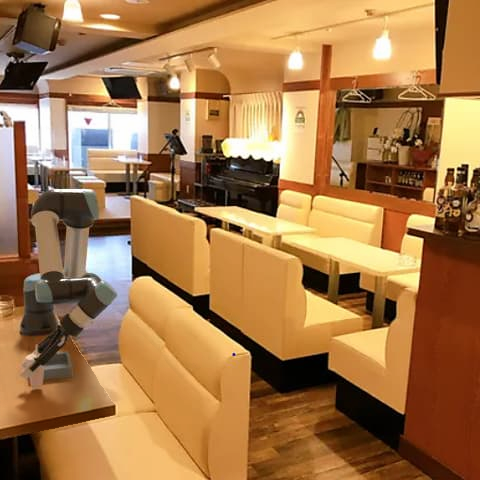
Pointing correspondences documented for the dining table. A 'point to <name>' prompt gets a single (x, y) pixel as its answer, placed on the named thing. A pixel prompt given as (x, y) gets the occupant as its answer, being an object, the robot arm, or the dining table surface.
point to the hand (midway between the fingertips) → (23, 371)
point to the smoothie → (38, 375)
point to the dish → (58, 366)
